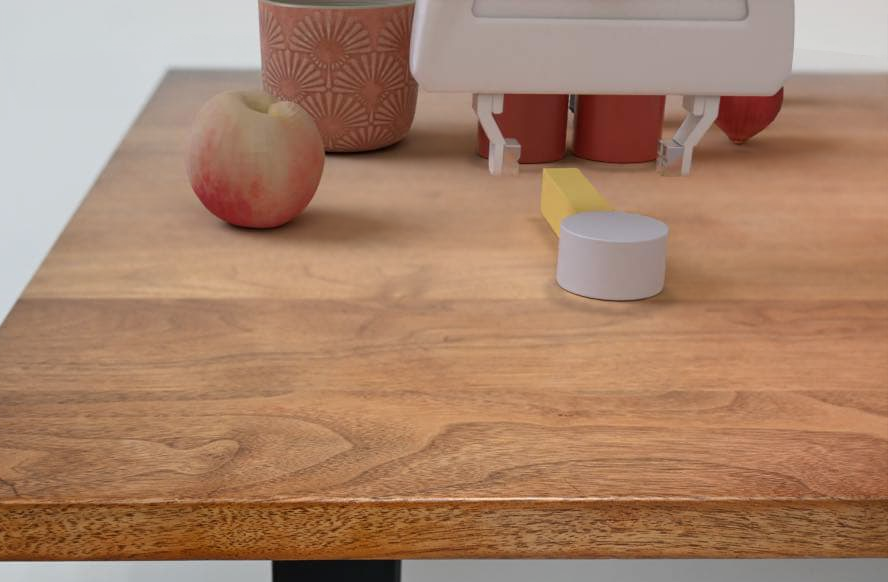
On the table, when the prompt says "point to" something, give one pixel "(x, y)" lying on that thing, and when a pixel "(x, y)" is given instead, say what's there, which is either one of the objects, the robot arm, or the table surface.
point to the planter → (342, 67)
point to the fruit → (254, 158)
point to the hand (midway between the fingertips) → (587, 174)
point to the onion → (747, 114)
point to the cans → (581, 126)
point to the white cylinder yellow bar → (602, 241)
